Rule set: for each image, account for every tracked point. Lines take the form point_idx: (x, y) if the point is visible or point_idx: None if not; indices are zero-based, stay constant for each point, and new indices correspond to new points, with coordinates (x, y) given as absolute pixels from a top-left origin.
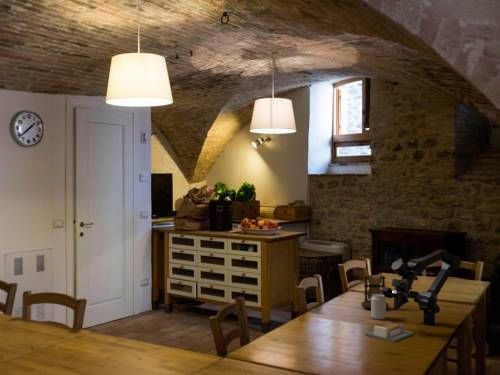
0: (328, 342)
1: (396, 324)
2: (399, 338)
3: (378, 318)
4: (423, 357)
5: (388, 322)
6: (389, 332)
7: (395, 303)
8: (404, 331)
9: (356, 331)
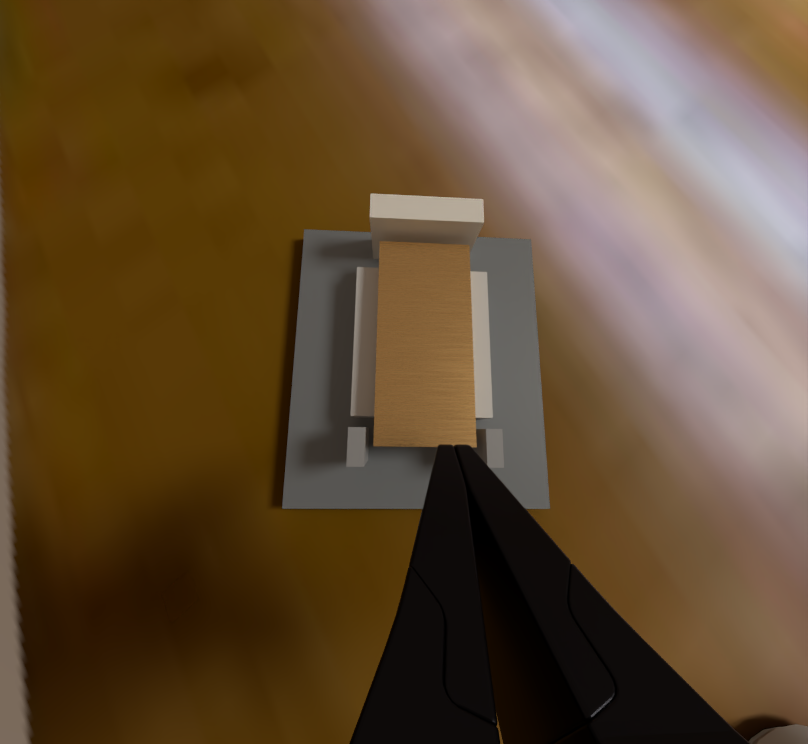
0: (577, 33)
1: (405, 441)
2: (300, 296)
3: (759, 738)
4: (46, 102)
5: (487, 433)
6: (369, 268)
7: (500, 530)
8: (348, 474)
9: (621, 291)
